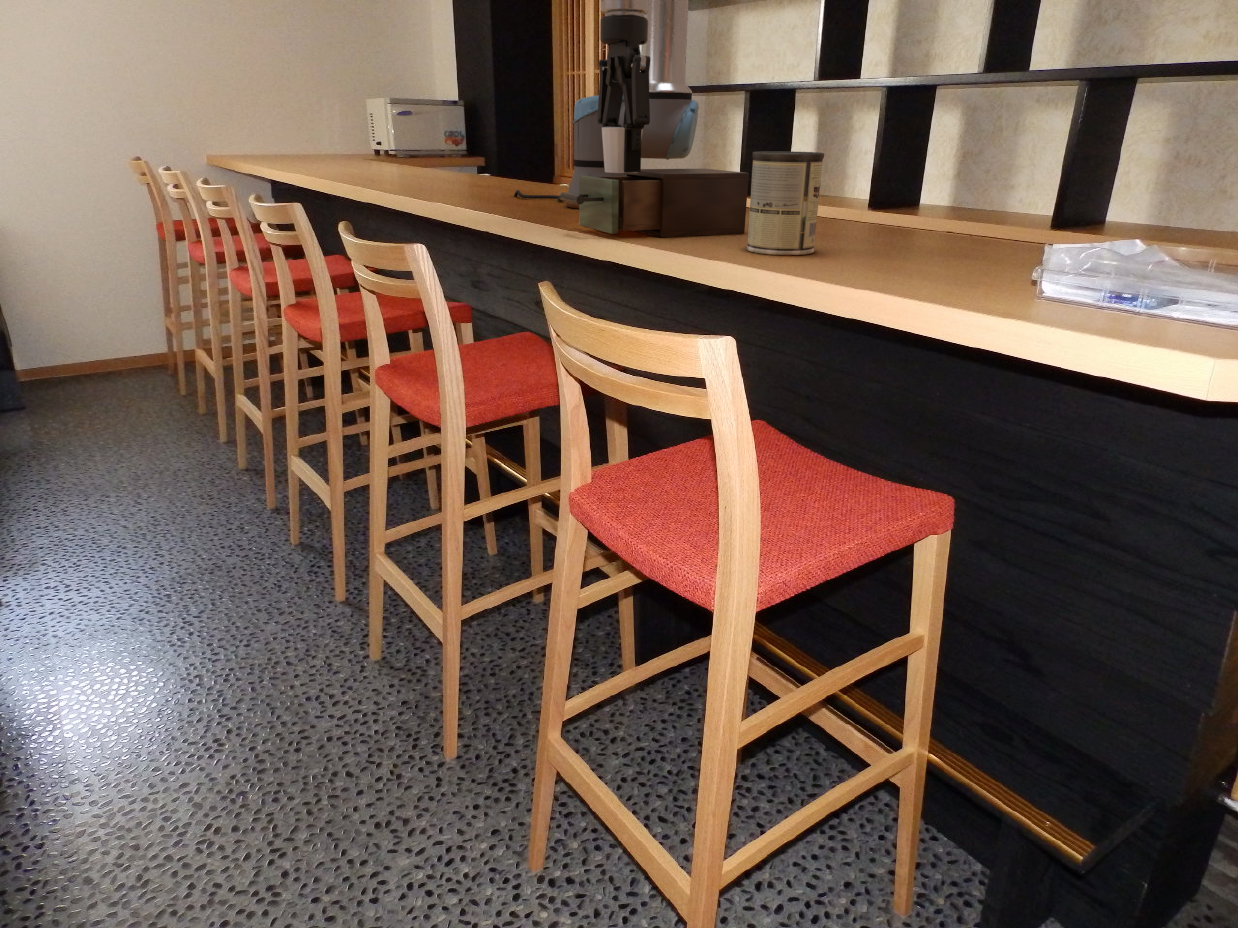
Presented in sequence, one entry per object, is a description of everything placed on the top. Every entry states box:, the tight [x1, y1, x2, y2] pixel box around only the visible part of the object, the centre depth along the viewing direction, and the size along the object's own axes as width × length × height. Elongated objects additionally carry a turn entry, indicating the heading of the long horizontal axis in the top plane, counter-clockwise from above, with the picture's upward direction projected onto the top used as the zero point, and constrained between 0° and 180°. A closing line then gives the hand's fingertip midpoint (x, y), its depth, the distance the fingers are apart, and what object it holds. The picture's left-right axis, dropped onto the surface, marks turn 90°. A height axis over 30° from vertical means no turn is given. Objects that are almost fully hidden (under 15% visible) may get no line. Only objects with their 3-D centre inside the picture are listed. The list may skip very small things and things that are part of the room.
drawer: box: [559, 175, 662, 235], centre depth 143 cm, size 20×13×8 cm, turn 117°
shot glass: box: [602, 127, 643, 173], centre depth 139 cm, size 7×7×7 cm
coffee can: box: [746, 150, 825, 256], centre depth 125 cm, size 10×10×14 cm
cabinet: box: [625, 168, 750, 239], centre depth 148 cm, size 17×14×10 cm
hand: (621, 170), depth 141 cm, fingers closed on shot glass, 7 cm apart
